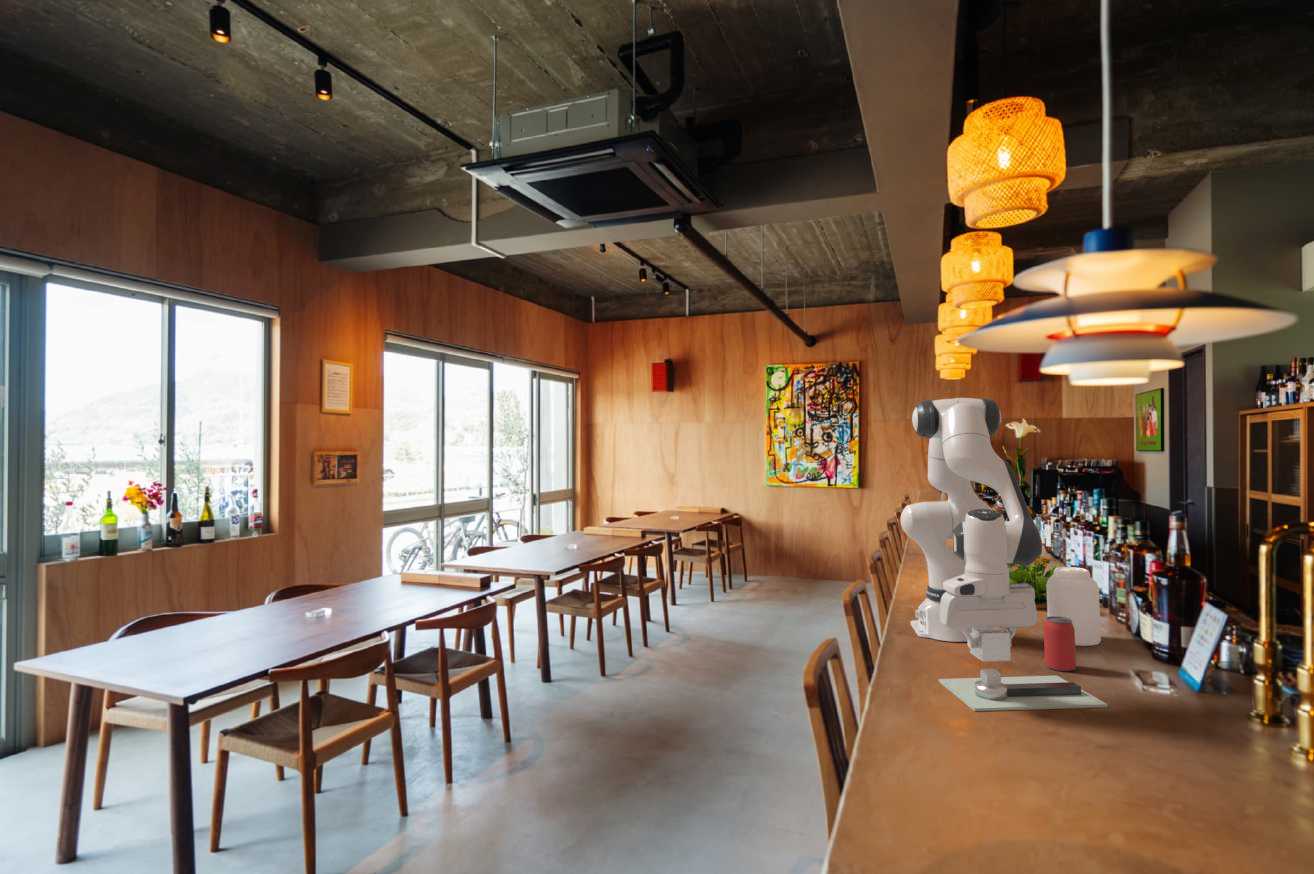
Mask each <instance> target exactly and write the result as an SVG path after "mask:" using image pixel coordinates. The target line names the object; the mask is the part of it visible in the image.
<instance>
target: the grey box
mask: <svg viewBox="0 0 1314 874" xmlns="http://www.w3.org/2000/svg"><path fill="white" fill-rule="evenodd" d="M970 635H971V636H972V638H974V639H976V640H977V642H978V644H977V645H978V647H977V648H969V654H971V655H973V656H974V657H976V658H977V659H978V660H980V661H981V662H1004V661H1005V662H1007V661H1009V662H1011V657H1012V656H1011V647H1010V633H1009V632H1007V630H1006V629H1005V628H1004V629H1003V627H989V628H972V633H970Z"/></svg>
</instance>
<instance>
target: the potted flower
mask: <svg viewBox="0 0 1314 874" xmlns="http://www.w3.org/2000/svg"><path fill="white" fill-rule="evenodd" d="M1050 562H1052V560H1051V559H1050V558H1049V557H1046V556H1042V557H1041V556H1040V557H1039V558H1038V559H1036V560H1035V561H1034V562H1033V563H1031V564H1029V565H1028V566H1027V565H1016V564H1012V563H1007V566H1008V569H1009V583H1018V584H1019V583H1027V584H1028V585H1030V586H1032V587H1033V588H1034V590H1035V600H1034V601H1035V605H1036V609H1047V586H1046V585H1047V581H1048V579H1049V578H1050V577H1051V576H1052V575H1054V570H1055V568H1059V567H1061V565H1060V563H1057V564H1056V565H1054V566H1052V568H1049V570H1048V571H1046V572H1045V570H1046V568H1047V566H1048V564H1050ZM1013 567H1017V568H1015V569H1014V570H1013ZM1028 588H1030V587H1028Z"/></svg>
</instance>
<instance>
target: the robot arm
mask: <svg viewBox="0 0 1314 874" xmlns="http://www.w3.org/2000/svg"><path fill="white" fill-rule="evenodd" d="M911 416H912V418H911V423H912V426H913V429H914V431H915V434H917V436H919V437H920V438H925V439H929V441H928V449H927V450H928V451H927V452H928V453H927V480H928V483H929V484H930V485H931V486H932V487H933V488H935V489H936V490H938V491H940V492H943V493H945V494H947V500H945V501H922V502H915V503H911V504H907V505H906V506H905V507H904V508H903V510H902V512H901V514H900V517H899V519H900V520H899V521H900V526H901V530H902V531H903V532H904V533H905V535H906V536H908V538H910V539H912V540H913V541H914V542H915V543H916V544H917V545H918V546H919V547H920V549H921V550H922V552H923V554H924V556H925V561H926V565H927V574H928V585H927V586H926V594H925V596H926V598H925V599H924V600H923V602H922V603H920V604H919V605H918V608H917V609H915V610H914V616H915V618H917V619H913V620H911V621H910V626H911V628H912V629H913V630H914V632H915V634H916V635H917V636H918V637H920V638H928V639H933V640H937V641H944V642H952V643H956V642H957V643H958V642H960V643H962V642H967V647H968V648H969V649H970V648H977V647H978V645H977V644H978V642H977V640H976V639H974V638H972V636H971V635H970V633H972V628H989V627H1000V628H1004V630H1006V631H1007V632H1009V633H1010V648H1011V647H1012V639H1013V638H1014V637H1015V635H1016V633H1017V628H1018V627H1019V628H1020V627H1034V626H1035V627H1036V624H1037V622H1038V613H1037V608H1036V605H1035V601H1034V600H1035V590H1034V588H1033V587H1032V586H1030V585H1028V584H1027V583H1019V584H1018V583H1009V570H1010V568H1009V569H1008V565H1007V563H1012V564H1016V565H1025V566H1029V565H1030V564H1034V563H1033V562H1034V561H1035V560H1036V559H1038V558H1039V557H1041V555H1042V553H1043V540H1042V537H1041V534H1040V532H1039V530H1038V527H1037V525H1036V524H1035V522H1034V519H1033V518H1032V515H1031V513H1030V510H1029V507H1028V506H1027V505H1028V504H1027V502H1026V501H1025V497H1024V495H1023V492H1022V490H1021V487H1020V484H1019V482H1018V479H1017V477H1016V475H1015V472H1014V470H1013V469H1012V466H1011V464H1010V463H1009V461H1007V460H1005V459H1003V458H1001V457H1000V456H999V455H998V454H997V453H996V452H995V450H994V449H993V447H992V443H991V436H993V435H995V434H996V433H997V432H999V428H1000V425H1001V422H1002V414H1001V410H1000V406H999V405H998V403H997V402H996V401H995V400H993V399H990V398H985V397H984V398H983V397H980V398H973V397H955V398H944V399H943V398H941V399H935V400H931V399H928V400H922V401H920V402H918V403H917V404H915V407H914V409H913V412H912V415H911ZM971 482H974V483H978V484H981V485H984V486H987V487H989V488H991V489H993V490H994V491H995V492H997V493H998V494H999V496H1000V497H1001V501H1002V504H1003V506H1004V509H1005V512H1006V514H1007V515H1006V516H1007V517H1008V520H1007V521H1005V517H1004V515H1003V513H1001V512H999V511H997V510H994V509H991V507H990V506H989V505H988V504H987V503H985V502H983V500H981V499H980V498H979V497H978V496H977V494H976V492H975V491H974V489H973V487H972V483H971ZM948 540H953V541H952V542H953V546H952V549H951V548H949V546H948V543H947V541H948ZM1016 565H1015V566H1016ZM1028 587H1030V588H1028Z"/></svg>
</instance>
